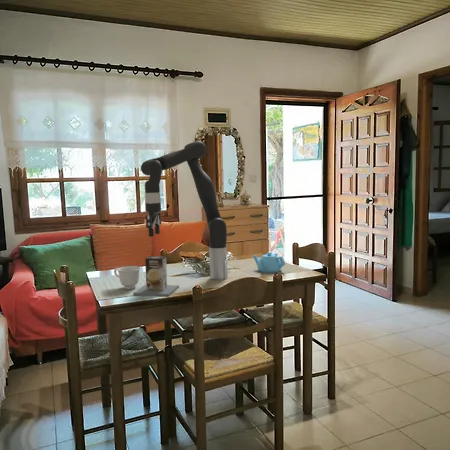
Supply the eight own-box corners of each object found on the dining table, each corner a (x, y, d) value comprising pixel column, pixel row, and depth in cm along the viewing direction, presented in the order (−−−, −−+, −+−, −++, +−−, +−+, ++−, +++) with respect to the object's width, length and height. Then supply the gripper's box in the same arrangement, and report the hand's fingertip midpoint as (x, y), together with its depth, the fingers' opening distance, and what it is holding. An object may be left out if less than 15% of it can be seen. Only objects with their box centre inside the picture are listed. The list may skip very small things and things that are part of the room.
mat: (179, 287, 218) (178, 285, 218) (169, 296, 203) (168, 294, 203) (145, 286, 222) (145, 284, 222) (133, 295, 206) (133, 293, 206)
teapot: (260, 274, 242) (260, 255, 241) (252, 268, 257) (252, 251, 256) (286, 272, 246) (286, 254, 245) (277, 267, 260) (276, 249, 259)
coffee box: (145, 290, 210) (144, 258, 208) (150, 287, 216) (148, 255, 214) (163, 291, 208) (162, 258, 207) (167, 287, 215) (166, 256, 213)
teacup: (122, 283, 229) (121, 265, 228) (146, 285, 224) (145, 266, 223) (108, 289, 218) (107, 270, 217) (133, 291, 213) (132, 271, 211)
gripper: (150, 201, 215) (152, 233, 217) (139, 203, 201) (141, 237, 203) (165, 201, 213) (166, 233, 215) (155, 203, 200) (156, 237, 201)
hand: (154, 235), depth 209 cm, fingers open, 8 cm apart
